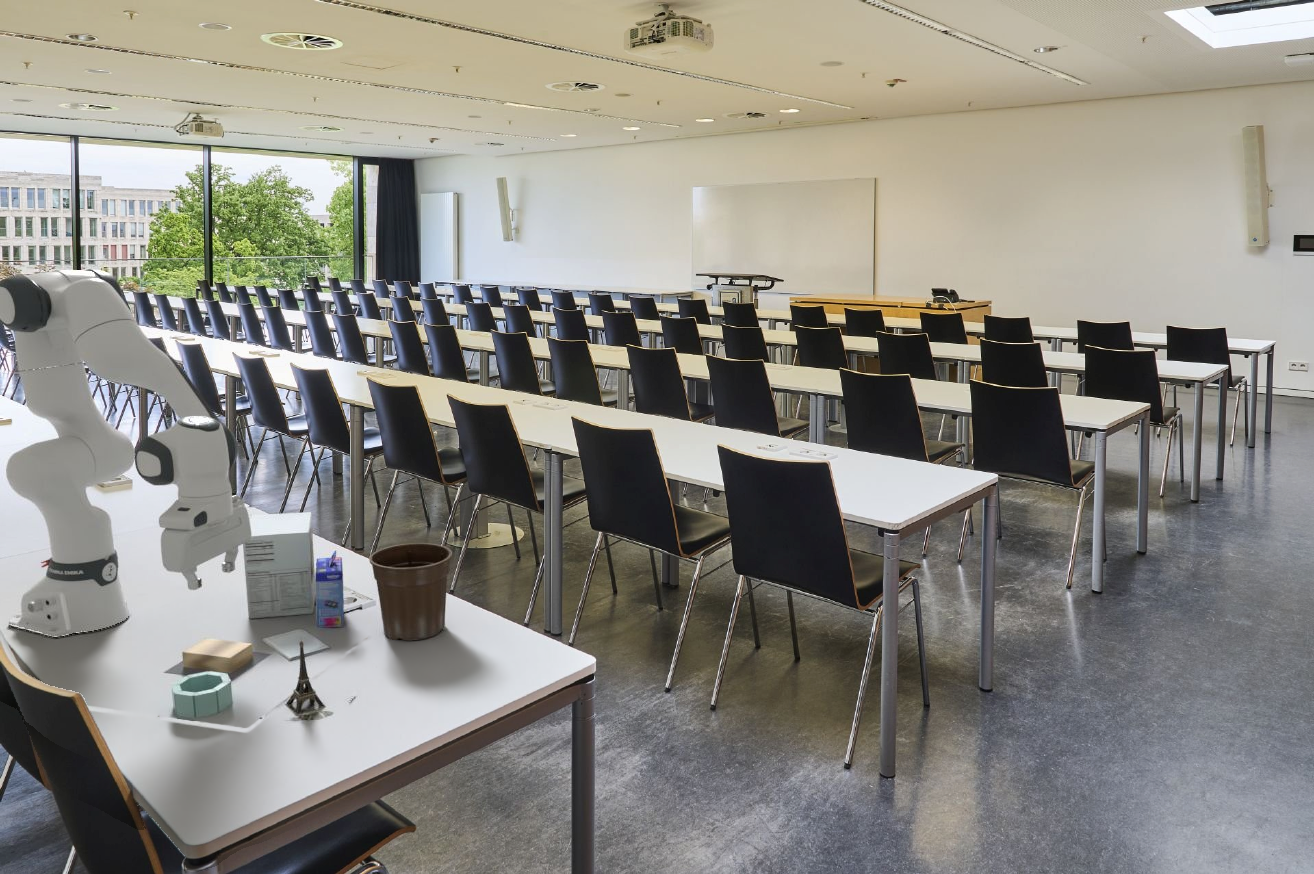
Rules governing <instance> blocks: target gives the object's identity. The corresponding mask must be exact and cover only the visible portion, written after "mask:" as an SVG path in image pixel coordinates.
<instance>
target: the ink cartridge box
mask: <svg viewBox="0 0 1314 874" xmlns="http://www.w3.org/2000/svg"><path fill="white" fill-rule="evenodd" d="M315 565H316V566H315V580H316V595H315V604H316V605H315V608H316V610H315V611H316V612H315V614H316V627H318V628H324V629H325V628H326V629H327V628H342V627H344V612H345V611H344V610H345V607H344V574H343V570H344V569H343V557H339V556H338V557H337V550H334V551H333V554H331V557H322V558H320V557H319V558H316V563H315Z"/></svg>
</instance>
